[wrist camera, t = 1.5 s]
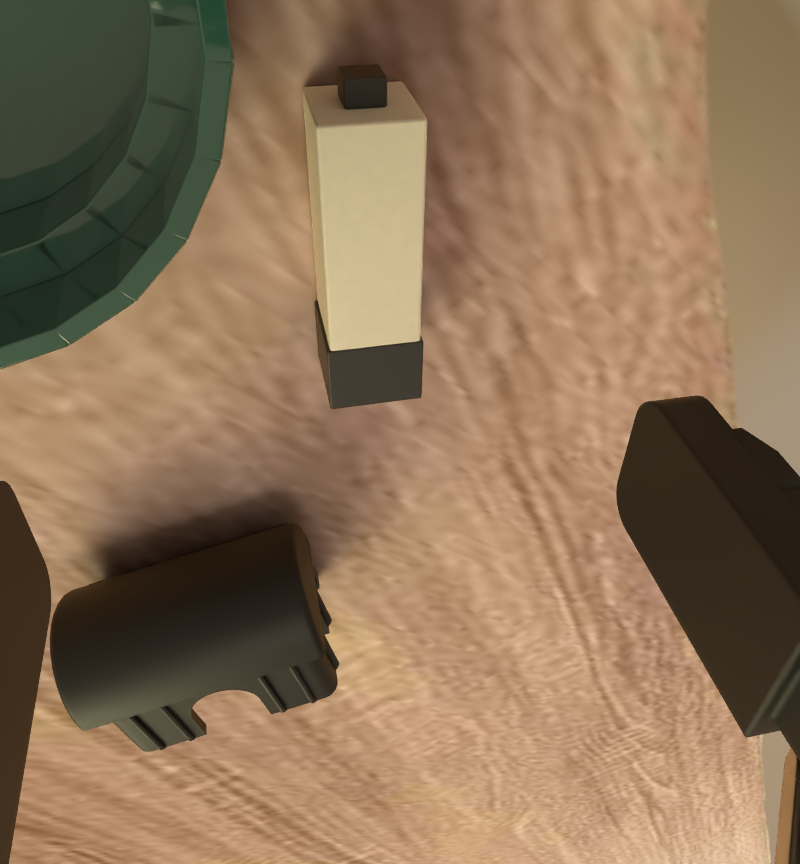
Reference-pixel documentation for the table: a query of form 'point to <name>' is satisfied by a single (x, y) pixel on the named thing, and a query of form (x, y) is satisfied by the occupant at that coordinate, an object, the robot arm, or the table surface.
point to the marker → (367, 234)
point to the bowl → (101, 155)
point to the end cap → (194, 638)
